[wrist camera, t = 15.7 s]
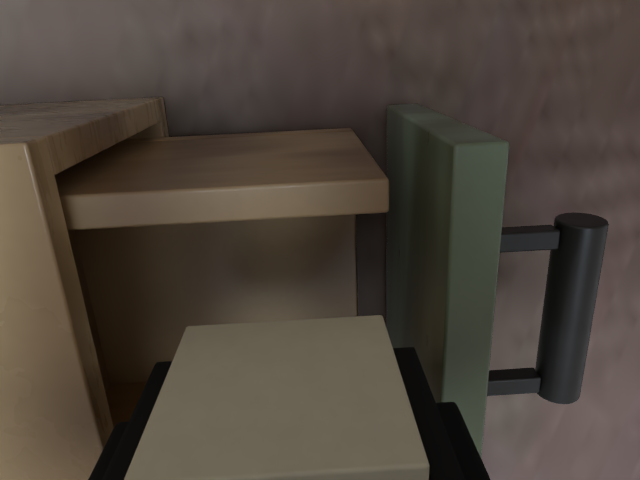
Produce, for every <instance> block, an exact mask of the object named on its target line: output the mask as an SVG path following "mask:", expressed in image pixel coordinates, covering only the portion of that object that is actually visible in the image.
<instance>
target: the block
mask: <svg viewBox="0 0 640 480" xmlns="http://www.w3.org/2000/svg"><path fill="white" fill-rule="evenodd" d="M429 466H430V465H429V462H428V459H427V456H426V453H425V450H424V446H423V443H422V440H421V437H420V434H419V430H418V427H417V424H416V421H415V418H414V414H413V411H412V408H411V405H410V402H409V398H408V395H407V392H406V389H405V386H404V383H403V379H402V376H401V373H400V370H399V367H398V363H397V360H396V357H395V354H394V351H393V347H392V344H391V341H390V338H389V335H388V331H387V328H386V325H385V322H384V319H383V316H382V315H373V316H356V317H338V318H321V319H304V320H286V321H269V322H252V323H234V324H217V325H200V326H188V327H186V329H185V332H184V334H183V337H182V339H181V341H180V344H179V346H178V349H177V351H176V354H175V356H174V359H173V361H172V363H171V366H170V368H169V371H168V373H167V376H166V378H165V381H164V383H163V385H162V388H161V390H160V393H159V395H158V398H157V400H156V403H155V405H154V407H153V410H152V412H151V415H150V417H149V420H148V422H147V425H146V427H145V429H144V432H143V434H142V437H141V439H140V442H139V444H138V447H137V449H136V451H135V454H134V456H133V459H132V461H131V464H130V466H129V469H128V471H127V473H126V476H125V478H124V480H429Z"/></svg>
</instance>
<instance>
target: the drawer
mask: <svg viewBox="0 0 640 480" xmlns="http://www.w3.org/2000/svg"><path fill="white" fill-rule="evenodd" d="M508 153H509V143H508V141H505V140H503V139H500V138H498V137H496V136H493V135H491V134H489V133H486V132H484V131H481V130H479V129H477V128H474V127H472V126H470V125H467V124H465V123H462V122H460V121H458V120H455V119H453V118H451V117H448V116H446V115H443V114H441V113H439V112H436V111H434V110H431V109H429V108H427V107H424V106H422V105H420V104H400V105H388V106H387V176H386V175H385V174H384V172H383V171H382V170H381V168H380V167H379V165H378V164H377V163H376V161H375V160H374V159H373V157H372V156H371V154H370V153H369V152H368V150H367V149H366V148H365V146H364V145H363V144H362V142H361V141H360V139H359V138H358V137H357V135H356V134H355V133H354V131H353V130H352V128H339V129H319V130H299V131H280V132H260V133H240V134H221V135H201V136H181V137H162V138H142V139H125V140H123V141H121V142H119V143H117V144H115V145H113V146H111V147H109V148H107V149H105V150H103V151H101V152H99V153H97V154H95V155H93V156H91V157H89V158H87V159H85V160H83V161H81V162H79V163H77V164H75V165H74V166H72V167H70V168H68V169H66V170H64V171H62V172H60V173H58V174H56V175H55V180H56V184H57V188H58V192H59V197H60V201H61V205H62V209H63V214H64V218H65V222H66V226H67V231H68V235H69V239H70V243H71V248H72V252H73V256H74V260H75V265H76V269H77V273H78V277H79V282H80V286H81V290H82V295H83V299H84V303H85V307H86V312H87V316H88V320H89V324H90V329H91V333H92V337H93V341H94V346H95V350H96V354H97V358H98V363H99V367H100V371H101V375H102V380H103V384H104V388H105V392H106V397H107V401H108V405H109V409H110V414H111V418H112V422H113V427H115V426H116V424H117V423H119V422H127V421H129V420H130V417H131V415H132V413H133V411H134V409H135V407H136V404H137V402H138V400H139V398H140V396H141V394H142V391H143V389H144V387H145V385H146V383H147V381H148V378H149V376H150V374H151V372H152V370H153V368H154V365H155V364H156V363H157V362H165V361H173V359H174V356H175V354H176V351H177V349H178V346H179V344H180V341H181V339H182V337H183V334H184V332H185V329H186V327H188V326H200V325H217V324H234V323H252V322H269V321H286V320H304V319H321V318H338V317H356V316H358V303H357V252H356V214H371V213H386V212H387V225H386V328H387V331H388V335H389V338H390V341H391V344H392V347H393V348H403V347H414V348H415V350H416V353H417V355H418V358H419V360H420V363H421V366H422V368H423V371H424V373H425V376H426V379H427V381H428V384H429V386H430V389H431V392H432V394H433V397H434V399H435V402H436V403H439V402H455V403H456V404H457V406H458V408H459V410H460V412H461V414H462V417H463V419H464V421H465V424H466V426H467V428H468V430H469V433H470V435H471V437H472V439H473V442H474V444H475V446H476V448H477V451H478V453H479V455H480V457H481V456H482V445H483V433H484V422H485V411H486V400H487V396H493V395H509V394H524V393H537V394H538V395H539V396H541V397H542V398H544V399H546V400H548V401H550V402H553V403H558V404H570V403H573V402H575V401H577V400H578V398H579V397H580V392H581V386H582V380H583V374H584V368H585V362H586V356H587V350H588V344H589V338H590V332H591V326H592V320H593V314H594V308H595V302H596V297H597V291H598V285H599V279H600V273H601V267H602V261H603V255H604V249H605V243H606V237H607V231H608V225H609V224H608V221H607V220H606V219H604V218H602V217H599V216H596V215H592V214H586V213H564V214H560V215H558V216H556V218H555V220H554V226H552V225H537V226H520V227H502V220H503V209H504V198H505V186H506V175H507V164H508ZM535 250H551V251H550V259H549V267H548V274H547V282H546V290H545V298H544V306H543V314H542V321H541V329H540V337H539V345H538V353H537V361H536V369H534V368H520V369H505V370H489V366H490V355H491V344H492V332H493V321H494V310H495V299H496V287H497V276H498V265H499V254H500V253H501V252H518V251H535Z"/></svg>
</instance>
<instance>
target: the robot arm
mask: <svg viewBox="0 0 640 480" xmlns="http://www.w3.org/2000/svg"><path fill="white" fill-rule="evenodd" d="M393 351H394V354H395V357H396V360H397V363H398V367H399V370H400V373H401V376H402V379H403V383H404V386H405V389H406V392H407V395H408V398H409V402H410V405H411V408H412V411H413V414H414V418H415V421H416V424H417V427H418V430H419V434H420V437H421V440H422V443H423V446H424V450H425V453H426V456H427V459H428V462H429V465H430V466H429V480H490V478H489V475H488V473H487V471H486V469H485V466H484V464H483V462H482V460H481V457H480V455H479V453H478V451H477V448H476V446H475V444H474V442H473V439H472V437H471V435H470V433H469V430H468V428H467V426H466V424H465V421H464V419H463V417H462V414H461V412H460V410H459V408H458V406H457V404H456V403H455V402H439V403H436V402H435V399H434V397H433V394H432V392H431V389H430V386H429V384H428V381H427V379H426V376H425V373H424V371H423V368H422V366H421V363H420V360H419V358H418V355H417V353H416V350H415V348H414V347H403V348H393ZM171 363H172V361H165V362H157V363H156V364H155V365H154V368H153V370H152V372H151V374H150V376H149V378H148V381H147V383H146V385H145V387H144V389H143V391H142V394H141V396H140V398H139V400H138V402H137V404H136V407H135V409H134V411H133V413H132V415H131V417H130V420H129V421H127V422H119V423H117V424H116V426H115V427H114V429H113V430H112V432H111V434H110V436H109V439H108V441H107V443H106V445H105V447H104V449H103V451H102V453H101V455H100V457H99V459H98V461H97V463H96V465H95V467H94V469H93V471H92V473H91V475H90V477H89V479H88V480H124V478H125V476H126V473H127V471H128V469H129V466H130V464H131V461H132V459H133V456H134V454H135V451H136V449H137V447H138V444H139V442H140V439H141V437H142V434H143V432H144V429H145V427H146V425H147V422H148V420H149V417H150V415H151V412H152V410H153V407H154V405H155V403H156V400H157V398H158V395H159V393H160V390H161V388H162V385H163V383H164V381H165V378H166V376H167V373H168V371H169V368H170V366H171Z"/></svg>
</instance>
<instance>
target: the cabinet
mask: <svg viewBox="0 0 640 480" xmlns="http://www.w3.org/2000/svg"><path fill="white" fill-rule="evenodd" d="M162 137H169V133H168V126H167V119H166V112H165V106H164V99H163V97H150V98H130V99H109V100H89V101H68V102H48V103H27V104H7V105H0V480H88V479H89V477H90V475H91V473H92V471H93V469H94V467H95V465H96V463H97V461H98V459H99V457H100V455H101V453H102V451H103V449H104V447H105V445H106V443H107V441H108V439H109V436H110V434H111V432H112V430H113V429H114V427H113V422H112V418H111V414H110V409H109V405H108V401H107V397H106V392H105V388H104V384H103V380H102V375H101V371H100V367H99V363H98V358H97V354H96V350H95V346H94V341H93V337H92V333H91V329H90V324H89V320H88V316H87V312H86V307H85V303H84V299H83V295H82V290H81V286H80V282H79V277H78V273H77V269H76V265H75V260H74V256H73V252H72V248H71V243H70V239H69V235H68V231H67V226H66V222H65V218H64V214H63V209H62V205H61V201H60V197H59V192H58V188H57V184H56V180H55V175H56V174H58V173H60V172H62V171H64V170H66V169H68V168H70V167H72V166H74V165H75V164H77V163H79V162H81V161H83V160H85V159H87V158H89V157H91V156H93V155H95V154H97V153H99V152H101V151H103V150H105V149H107V148H109V147H111V146H113V145H115V144H117V143H119V142H121V141H123V140H125V139H142V138H162Z"/></svg>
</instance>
